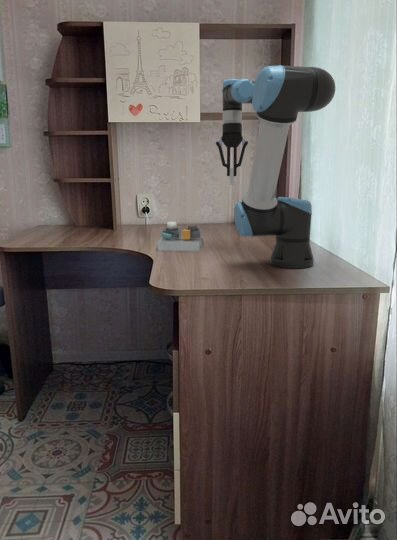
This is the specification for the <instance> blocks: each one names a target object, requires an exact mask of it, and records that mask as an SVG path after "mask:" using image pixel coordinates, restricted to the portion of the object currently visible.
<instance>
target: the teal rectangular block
mask: <svg viewBox="0 0 397 540" xmlns="http://www.w3.org/2000/svg"><path fill="white" fill-rule="evenodd" d="M160 236H161V237H160V238H162V237H166V238H170V239H171V237H172V235H171V234H166V233H161V235H160Z"/></svg>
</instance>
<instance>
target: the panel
mask: <svg viewBox="0 0 397 540" xmlns="http://www.w3.org/2000/svg"><path fill="white" fill-rule="evenodd" d="M184 230H188V227H186V228H184ZM162 233H166V234H171V235H172V237H171V239H170V238H166V237H160V239H159V238H158V240H157V251H159V252H160V251H161V252H164V251H165V252H200V250H201V249H202V247H203V245H204V235H203V228H201V227H199V228H198V227H197V231H191V238H190V239H182V227H177V229H176V230H168V229H167V227H165V228H164V229H162ZM162 233H161V234H162Z"/></svg>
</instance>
